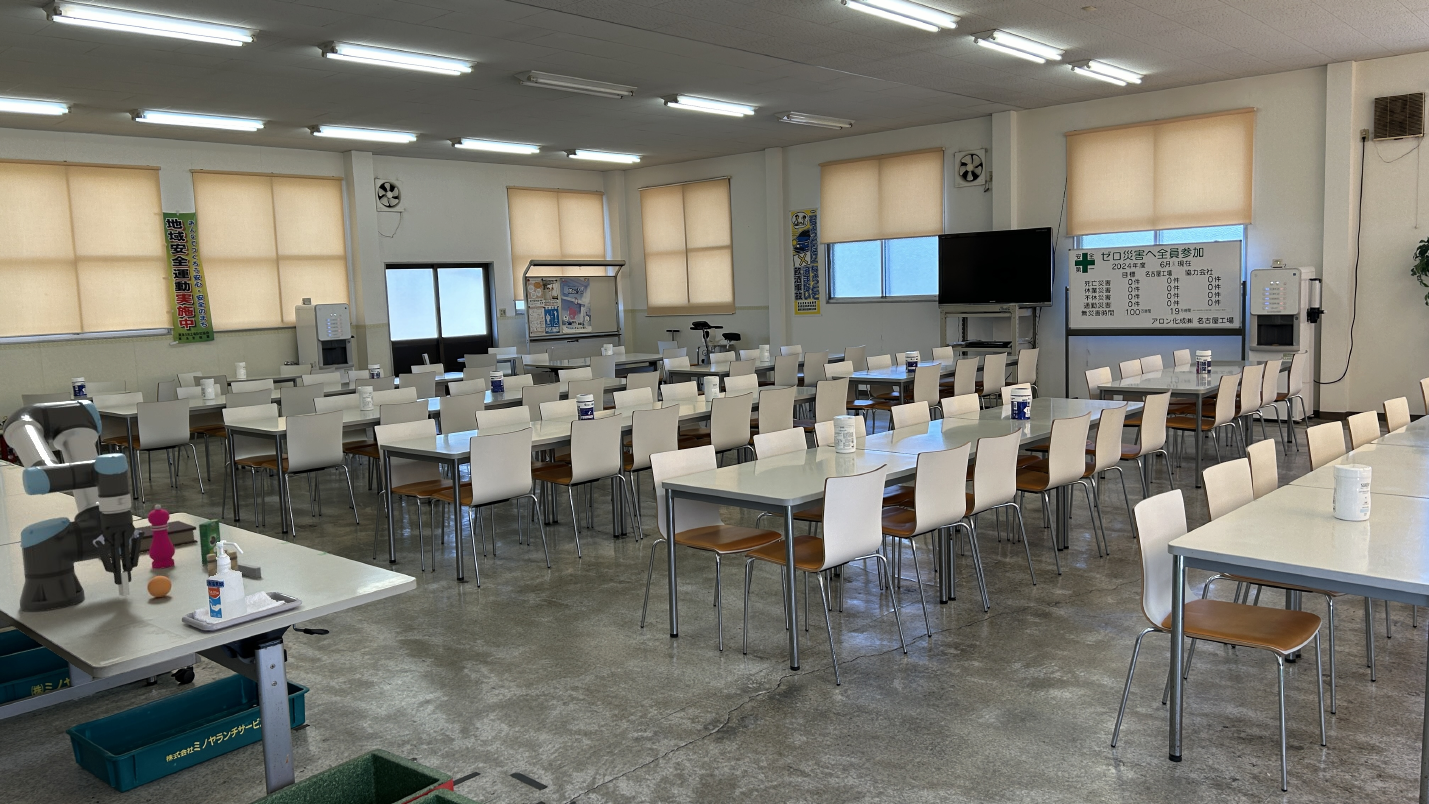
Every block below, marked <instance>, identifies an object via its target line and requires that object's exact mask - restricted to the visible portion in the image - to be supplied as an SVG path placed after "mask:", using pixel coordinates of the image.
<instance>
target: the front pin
mask: <svg viewBox="0 0 1429 804" xmlns="http://www.w3.org/2000/svg"><path fill="white" fill-rule="evenodd" d="M217 561H218V560H216V554H209V555H207V564H206V565H207V572H208V573H207V575H208V578H209V577H210V576H214V575H216V573H217V574H218V563H217Z"/></svg>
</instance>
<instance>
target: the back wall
mask: <svg viewBox="0 0 1429 804" xmlns="http://www.w3.org/2000/svg"><path fill="white" fill-rule="evenodd" d="M237 562H238V571H240V572H242V574H243V575H242V576H246V577H250V578H255V579H259V578H261V577H262V570H261V568H262V567H261V566H257V565H252V564H248V563H244V562H239V561H237Z"/></svg>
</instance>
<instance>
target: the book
mask: <svg viewBox="0 0 1429 804" xmlns="http://www.w3.org/2000/svg"><path fill="white" fill-rule="evenodd" d="M167 523H168V527H169V528H167V533H168V537H169V539H170V541H171V543H172V544H173V546H175V547H181V546H186V545H190V544H195V543H196V544H197V543H198V540H196V539H195V534H194V533H195V532H194V531H196V530H197V526H194V525H191V524H189V523H186V522H184V521H180V520H174V521H170V522H169V521H168V522H167ZM150 526H151V525H146V526H141V527H135V529H136V530H138V531H142V532H144V533H145V534H144V536H143V538H142V540H141V546H140V552H143V553H147V551H148V552H149V550H150V546H151V544H152V540H153V532H152V530H151V527H150ZM132 540H133V535H132V537H131V544H130V548H129V551H130V554H131V547H132ZM109 557H110V558H111V556H109ZM120 558H121V554H120Z"/></svg>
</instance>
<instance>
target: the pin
mask: <svg viewBox="0 0 1429 804" xmlns="http://www.w3.org/2000/svg"><path fill="white" fill-rule="evenodd" d="M228 556H229V557H230V560H231V569H232V570H235V571H238V562H239V561H238V551H236V550H231V551H228Z"/></svg>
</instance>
